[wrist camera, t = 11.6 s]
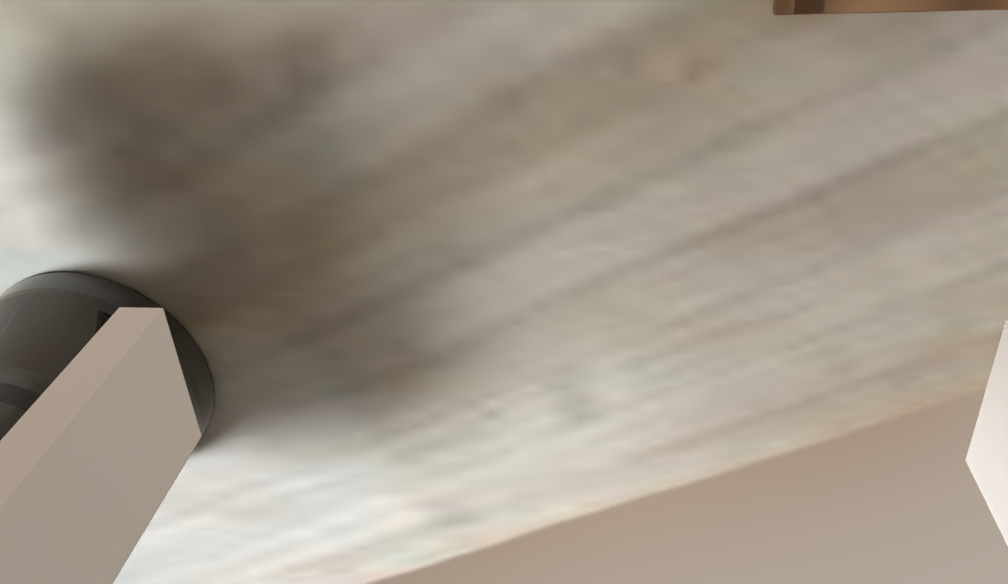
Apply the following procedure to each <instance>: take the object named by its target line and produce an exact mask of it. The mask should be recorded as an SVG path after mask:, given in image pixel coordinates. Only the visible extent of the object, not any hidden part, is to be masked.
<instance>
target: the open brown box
mask: <svg viewBox="0 0 1008 584" xmlns="http://www.w3.org/2000/svg"><path fill="white" fill-rule="evenodd" d="M969 10H1008V0H774V4H773V13H774V15H797V14H840V13H883V12H926V11H969Z"/></svg>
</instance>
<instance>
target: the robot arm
mask: <svg viewBox="0 0 1008 584" xmlns="http://www.w3.org/2000/svg"><path fill="white" fill-rule="evenodd" d="M213 409H214V387H213V382H212V378H211V374H210V371H209V368H208V366H207V364H206V361H205V359H204V357H203V355H202V354H201V352H200V350H199V349H198V347H197V346H196V344H195V343H194V341H193V340H192V339H191V337H190V336H189V335H188V333H187V332H186V331H185V330H184V329H183V328H182V327H181V326H180V325H179V324H178V323H177V322H176V321H175V320H174V319H173V318H172V317H171V316H170V315H169V314H168V313H166V312H165V311H164V309H163V308H160V307H159V306H157V305H156V304H155V303H153V302H152V301H150V300H149V299H147V298H145V297H144V296H142V295H140V294H138V293H137V292H135V291H133V290H131V289H129V288H127V287H124V286H122V285H120V284H117V283H115V282H112V281H109V280H106V279H103V278H99V277H95V276H91V275H85V274H79V273H66V272H59V273H46V274H41V275H36V276H33V277H30V278H27V279H24V280H22V281H20V282H18V283H16V284H15V285H13V286H12V287H10V288H9V289H7V290H6V291H5V292H4V293H3V294H2V295H1V296H0V584H113V582H114V580H115V579H116V577H117V575H118V574H119V572H120V571H121V569H122V567H123V566H124V564H125V562H126V561H127V559H128V557H129V556H130V554H131V552H132V551H133V549H134V547H135V546H136V544H137V542H138V541H139V539H140V537H141V536H142V534H143V532H144V531H145V529H146V528H147V526H148V524H149V523H150V521H151V519H152V518H153V516H154V514H155V513H156V511H157V509H158V508H159V506H160V504H161V503H162V501H163V499H164V498H165V496H166V494H167V493H168V491H169V489H170V488H171V486H172V485H173V483H174V481H175V480H176V478H177V476H178V475H179V473H180V471H181V470H182V468H183V466H184V465H185V463H186V461H187V460H188V458H189V456H190V455H191V453H192V451H193V450H194V448H195V446H196V445H197V443H198V441H199V440H200V438H201V437H202V435H203V433H204V431H205V430H206V428H207V426H208V424H209V422H210V420H211V417H212V413H213ZM966 462H967V465H968V467H969V468H970V471H971V473H972V474H973V477H974V479H975V481H976V483H977V485H978V487H979V489H980V491H981V493H982V495H983V497H984V499H985V501H986V503H987V505H988V507H989V509H990V511H991V513H992V515H993V517H994V519H995V521H996V523H997V525H998V527H999V529H1000V531H1001V533H1002V535H1003V537H1004V539H1005V541H1006V544H1007V545H1008V319H1006V322H1005V325H1004V329H1003V332H1002V336H1001V339H1000V343H999V346H998V350H997V353H996V357H995V360H994V364H993V367H992V370H991V374H990V377H989V381H988V384H987V388H986V391H985V395H984V398H983V402H982V405H981V409H980V412H979V416H978V419H977V422H976V426H975V429H974V433H973V436H972V440H971V443H970V447H969V450H968V454H967V457H966Z"/></svg>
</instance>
